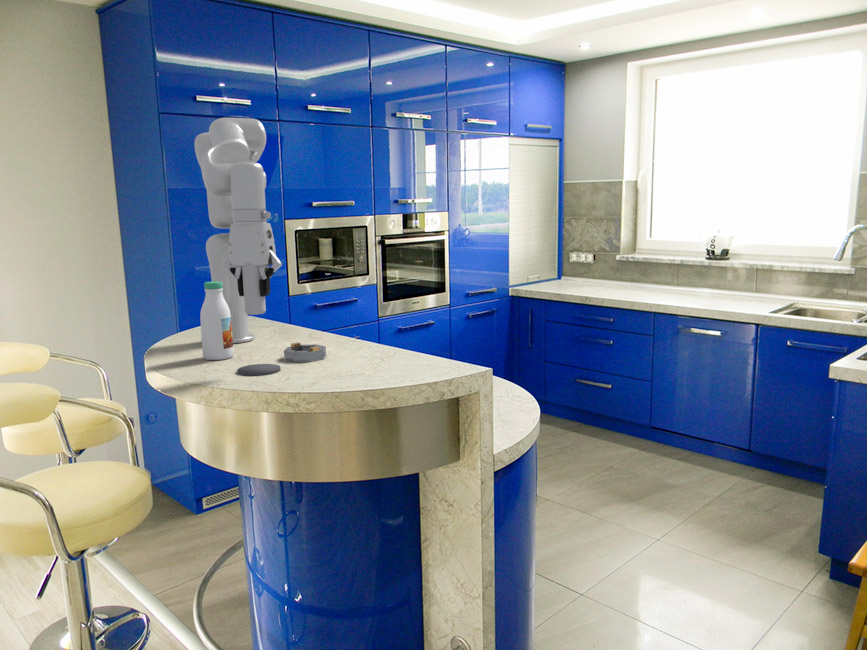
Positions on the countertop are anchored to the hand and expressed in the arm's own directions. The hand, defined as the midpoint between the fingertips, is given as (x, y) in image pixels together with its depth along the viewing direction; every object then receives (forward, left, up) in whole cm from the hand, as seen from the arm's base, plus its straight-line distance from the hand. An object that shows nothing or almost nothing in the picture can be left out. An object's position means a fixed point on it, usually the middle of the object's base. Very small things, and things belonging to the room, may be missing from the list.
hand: (254, 294), depth 161 cm
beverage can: (0, 0, -5) cm, 5 cm away
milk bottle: (-22, +1, -18) cm, 29 cm away
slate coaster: (0, 0, -18) cm, 18 cm away
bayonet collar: (-4, +16, -18) cm, 25 cm away
